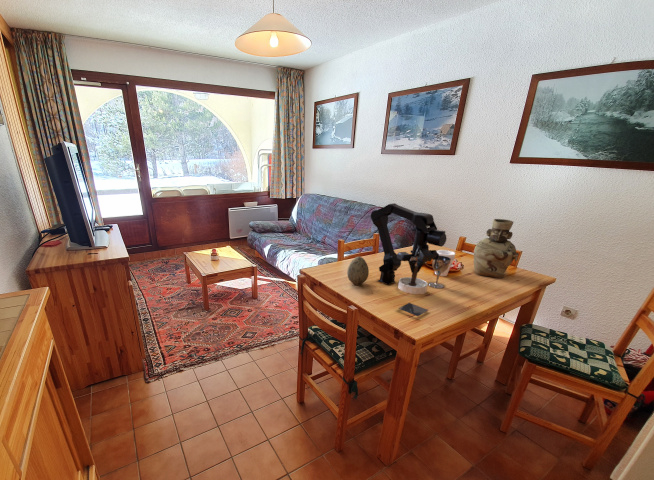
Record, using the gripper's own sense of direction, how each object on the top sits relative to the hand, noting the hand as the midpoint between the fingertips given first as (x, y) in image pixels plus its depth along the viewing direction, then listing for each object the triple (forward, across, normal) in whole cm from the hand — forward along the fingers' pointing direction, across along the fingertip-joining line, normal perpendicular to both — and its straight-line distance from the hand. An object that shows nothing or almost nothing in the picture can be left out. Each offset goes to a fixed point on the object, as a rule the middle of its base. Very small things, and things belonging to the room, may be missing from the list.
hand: (414, 272), depth 150 cm
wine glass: (+10, +17, +5) cm, 20 cm away
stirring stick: (+6, 0, 0) cm, 6 cm away
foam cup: (+10, +29, +19) cm, 37 cm away
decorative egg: (+10, -24, +13) cm, 29 cm away
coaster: (+10, -11, -20) cm, 25 cm away
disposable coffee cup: (+10, +26, +38) cm, 48 cm away
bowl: (+10, 0, 0) cm, 10 cm away
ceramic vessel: (+10, +58, +17) cm, 62 cm away
